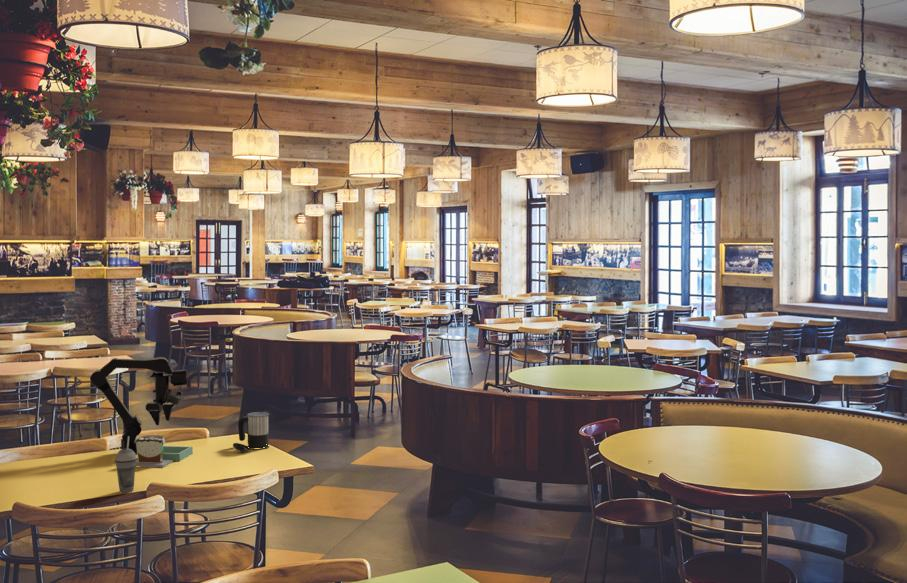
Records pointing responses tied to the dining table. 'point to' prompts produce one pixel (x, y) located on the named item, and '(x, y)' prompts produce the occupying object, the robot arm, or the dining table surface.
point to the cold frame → (176, 452)
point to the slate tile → (154, 464)
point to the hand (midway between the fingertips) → (162, 422)
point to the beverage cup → (126, 469)
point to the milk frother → (253, 431)
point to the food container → (150, 448)
